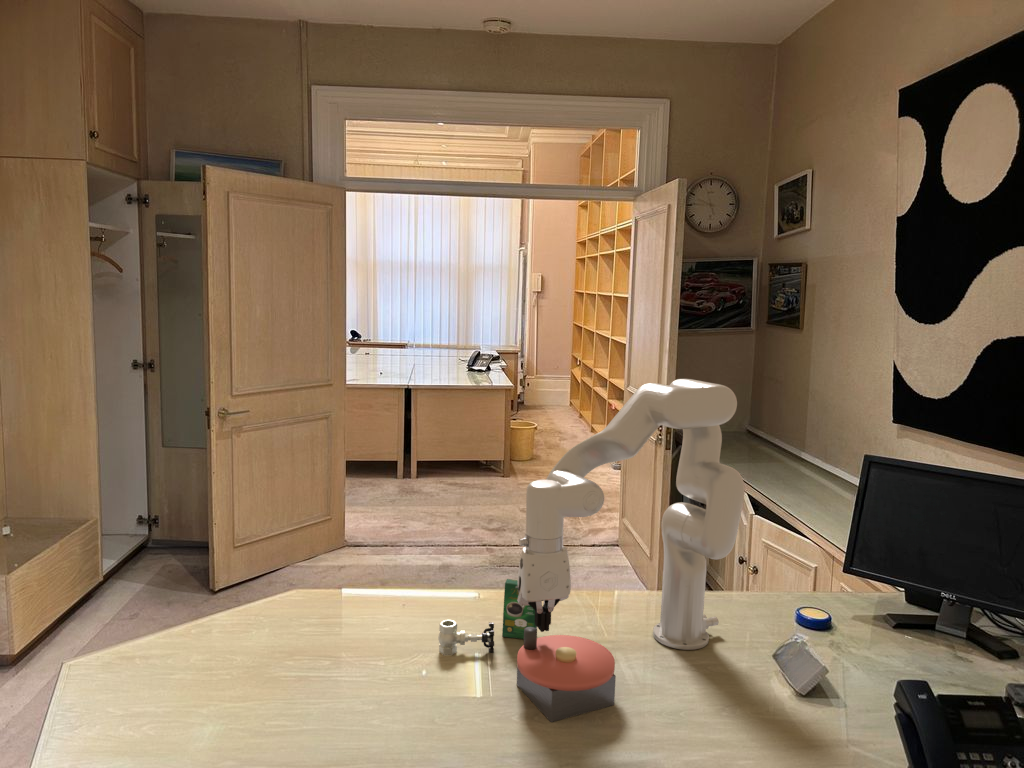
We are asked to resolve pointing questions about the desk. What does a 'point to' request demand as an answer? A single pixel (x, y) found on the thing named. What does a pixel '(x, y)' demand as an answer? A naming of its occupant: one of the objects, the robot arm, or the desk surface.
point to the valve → (461, 637)
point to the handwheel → (564, 661)
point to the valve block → (567, 698)
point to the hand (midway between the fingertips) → (542, 628)
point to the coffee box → (515, 613)
